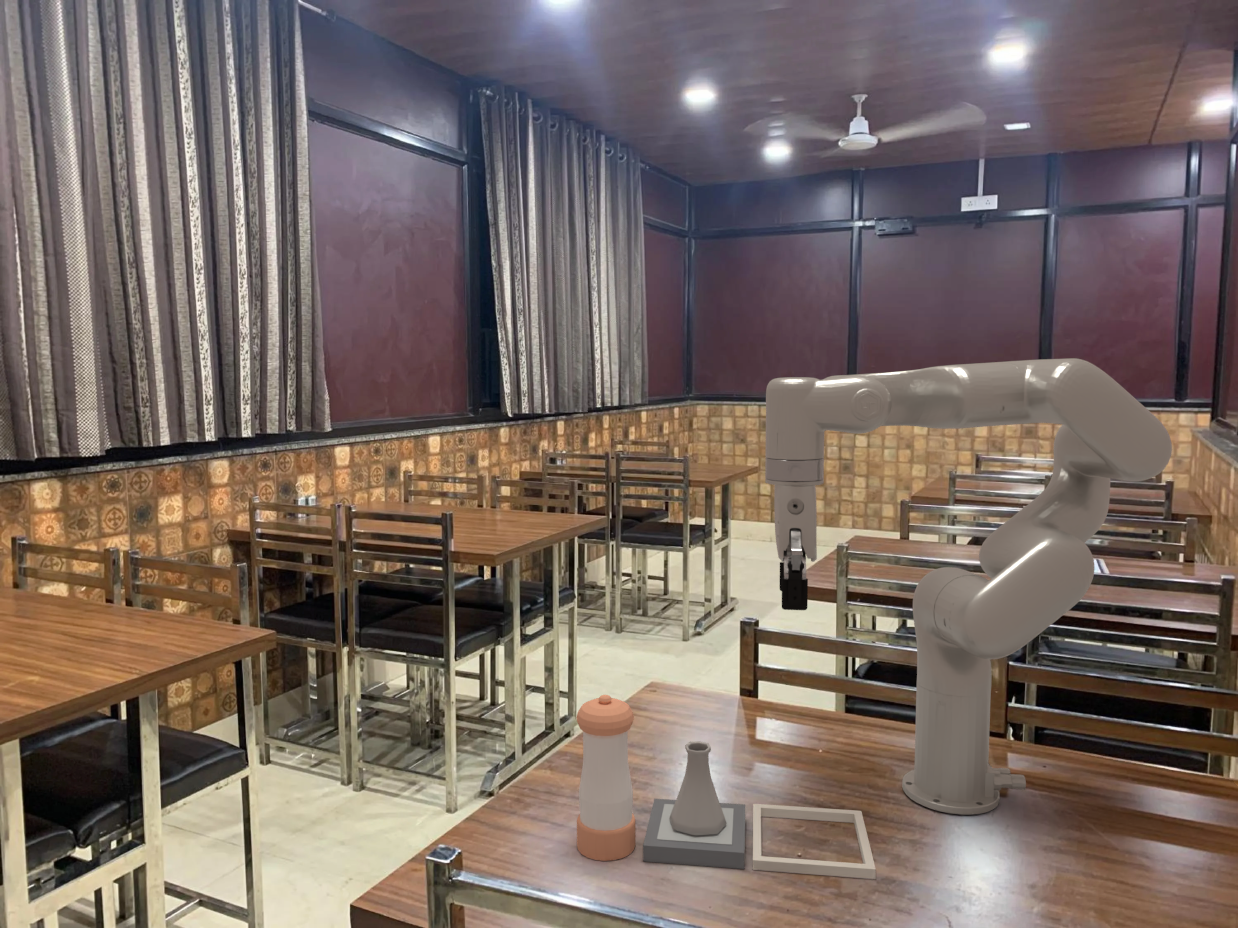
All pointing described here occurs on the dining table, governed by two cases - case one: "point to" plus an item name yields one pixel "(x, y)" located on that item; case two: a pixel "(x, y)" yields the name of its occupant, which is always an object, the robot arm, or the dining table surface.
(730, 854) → the slate pad
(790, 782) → the dining table surface
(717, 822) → the flask
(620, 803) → the salt shaker
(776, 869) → the tray frame
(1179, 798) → the dining table surface
